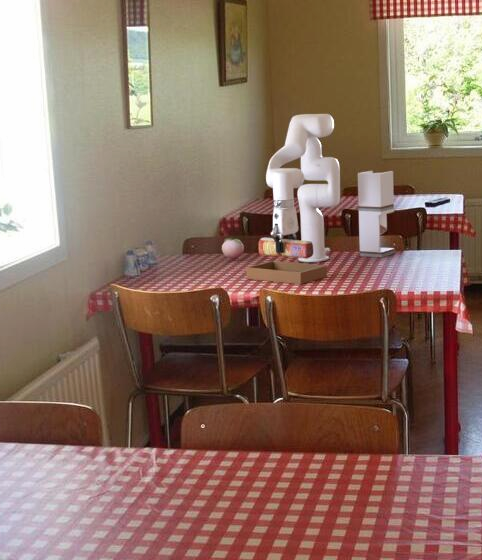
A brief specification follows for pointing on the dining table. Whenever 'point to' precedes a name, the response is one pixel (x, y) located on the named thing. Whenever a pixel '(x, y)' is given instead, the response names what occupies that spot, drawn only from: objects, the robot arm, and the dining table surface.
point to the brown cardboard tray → (286, 272)
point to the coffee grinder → (374, 211)
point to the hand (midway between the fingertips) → (286, 250)
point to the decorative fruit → (232, 248)
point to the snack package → (286, 248)
